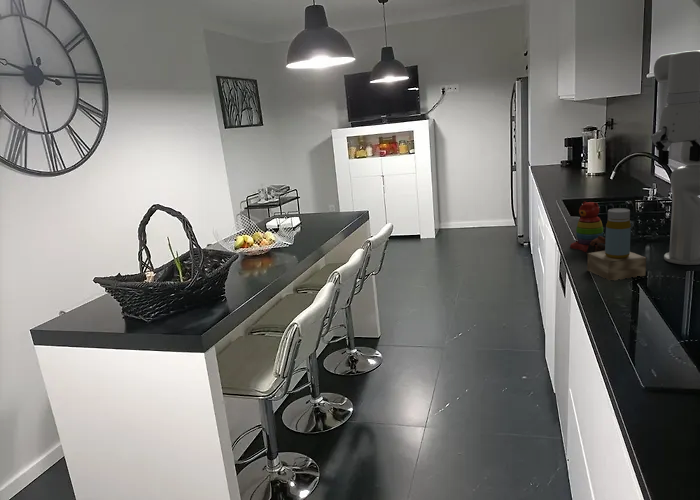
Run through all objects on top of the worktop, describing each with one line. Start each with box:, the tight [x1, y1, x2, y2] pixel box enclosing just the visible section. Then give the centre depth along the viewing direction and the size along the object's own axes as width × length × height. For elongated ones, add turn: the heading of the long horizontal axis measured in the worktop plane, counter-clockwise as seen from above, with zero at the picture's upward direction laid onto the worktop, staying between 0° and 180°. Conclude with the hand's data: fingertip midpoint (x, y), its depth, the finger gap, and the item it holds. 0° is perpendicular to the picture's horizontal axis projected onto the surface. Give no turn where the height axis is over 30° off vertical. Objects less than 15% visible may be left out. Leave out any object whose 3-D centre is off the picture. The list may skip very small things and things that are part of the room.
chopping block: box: [586, 251, 647, 281], centre depth 170 cm, size 12×12×6 cm
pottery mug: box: [585, 236, 606, 257], centre depth 188 cm, size 12×10×8 cm
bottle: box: [605, 207, 632, 259], centre depth 166 cm, size 7×7×15 cm
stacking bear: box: [569, 201, 604, 254], centre depth 198 cm, size 11×10×18 cm
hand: (678, 162), depth 147 cm, fingers open, 9 cm apart
